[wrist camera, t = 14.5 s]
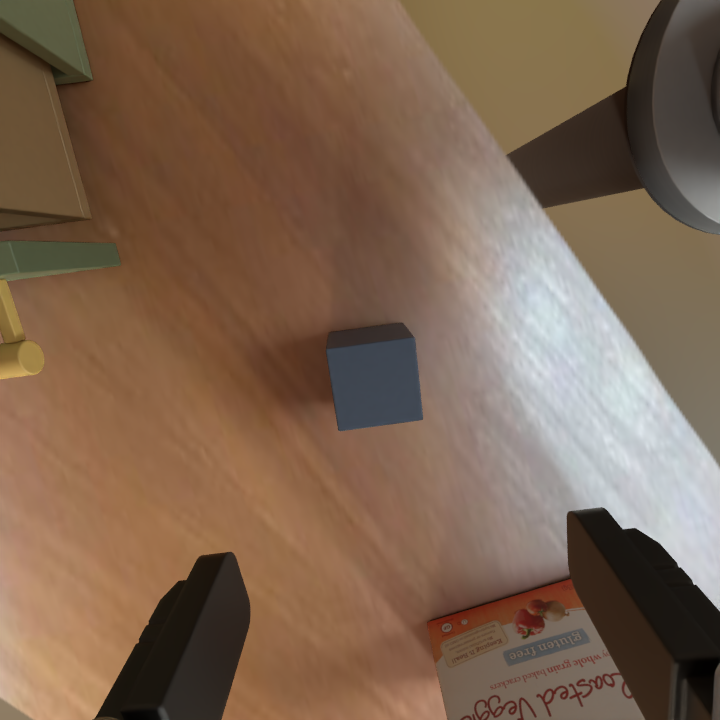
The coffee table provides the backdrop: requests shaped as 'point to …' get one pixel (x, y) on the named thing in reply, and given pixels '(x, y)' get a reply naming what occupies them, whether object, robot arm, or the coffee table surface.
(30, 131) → the drawer
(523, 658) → the cracker box
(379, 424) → the block
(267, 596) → the coffee table surface
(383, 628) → the coffee table surface
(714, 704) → the robot arm
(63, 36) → the cabinet
